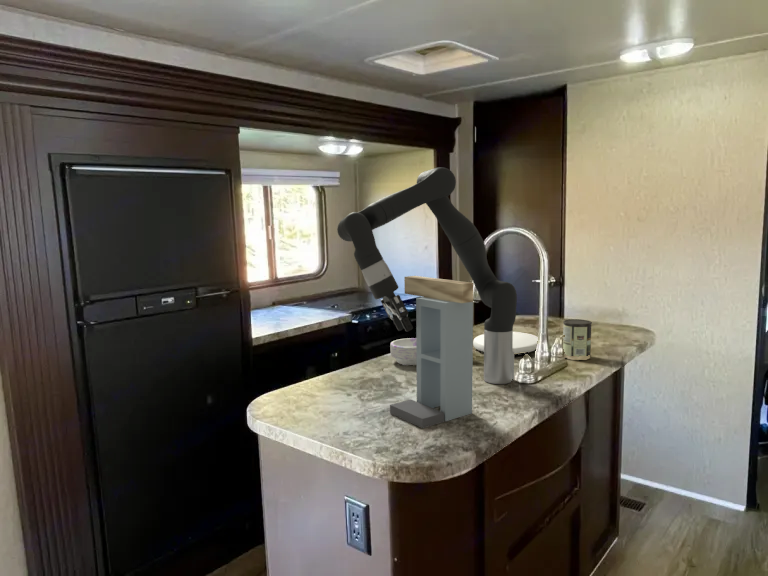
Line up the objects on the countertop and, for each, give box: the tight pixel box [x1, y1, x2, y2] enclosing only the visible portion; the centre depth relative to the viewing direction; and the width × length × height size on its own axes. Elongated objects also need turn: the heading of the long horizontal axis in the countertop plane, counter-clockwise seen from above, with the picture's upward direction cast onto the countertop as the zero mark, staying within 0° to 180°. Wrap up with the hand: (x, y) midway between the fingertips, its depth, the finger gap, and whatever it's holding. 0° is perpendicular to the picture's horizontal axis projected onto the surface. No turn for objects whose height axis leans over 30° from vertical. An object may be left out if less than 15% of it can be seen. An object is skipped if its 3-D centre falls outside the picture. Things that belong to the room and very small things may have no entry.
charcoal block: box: [389, 399, 445, 429], centre depth 153 cm, size 8×14×2 cm, turn 36°
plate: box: [473, 331, 539, 353], centre depth 229 cm, size 28×6×27 cm
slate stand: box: [415, 296, 474, 422], centre depth 156 cm, size 10×12×32 cm
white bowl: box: [389, 337, 417, 366], centre depth 210 cm, size 15×15×8 cm
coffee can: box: [562, 318, 593, 357], centre depth 214 cm, size 10×10×14 cm
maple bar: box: [403, 275, 474, 303], centre depth 156 cm, size 4×24×5 cm, turn 36°
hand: (405, 329), depth 159 cm, fingers open, 8 cm apart
